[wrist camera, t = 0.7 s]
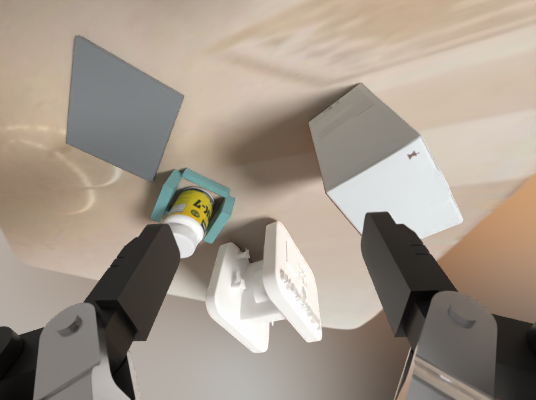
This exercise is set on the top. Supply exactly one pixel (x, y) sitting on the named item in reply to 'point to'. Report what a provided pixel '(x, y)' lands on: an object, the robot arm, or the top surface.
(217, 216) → the teal corner cradle
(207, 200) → the supplement bottle
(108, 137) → the mat
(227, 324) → the cable organizer
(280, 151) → the top surface
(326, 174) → the small box
